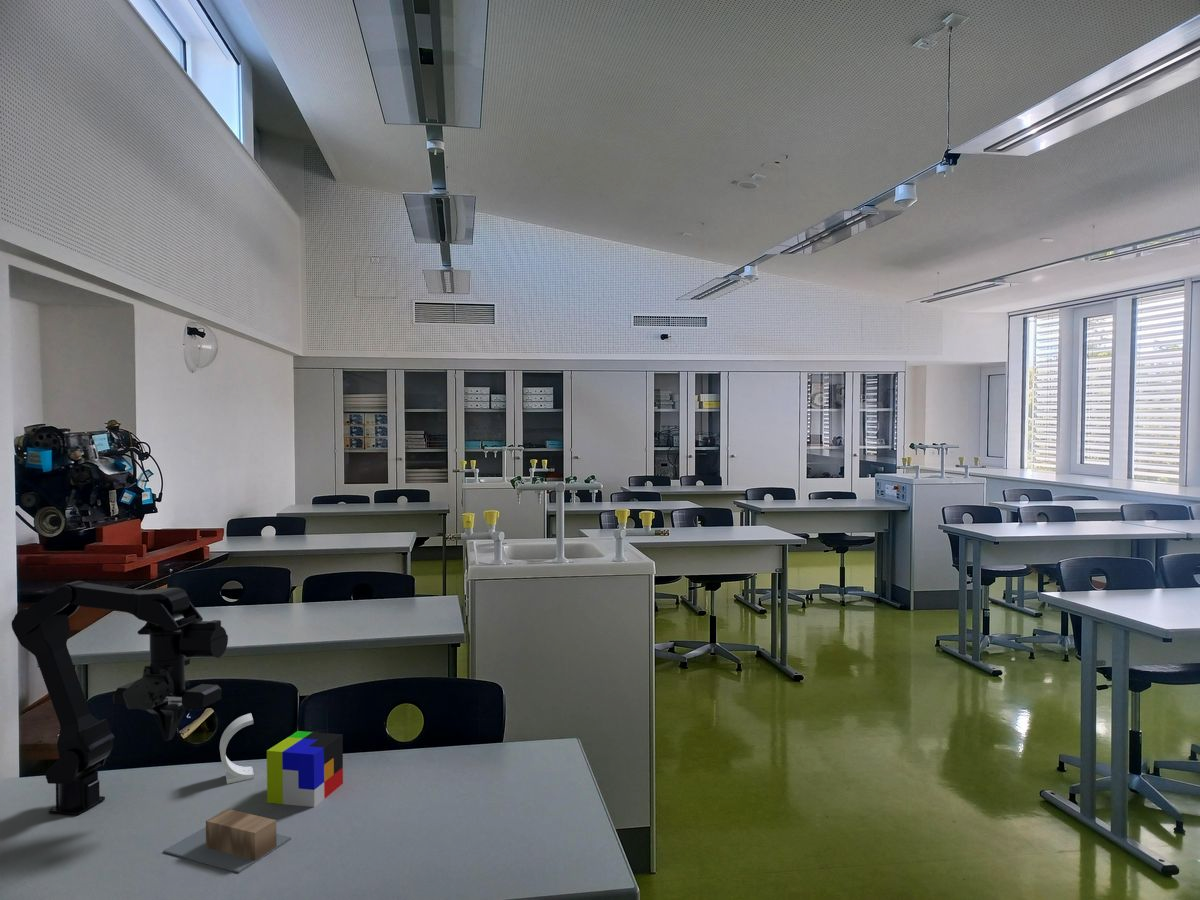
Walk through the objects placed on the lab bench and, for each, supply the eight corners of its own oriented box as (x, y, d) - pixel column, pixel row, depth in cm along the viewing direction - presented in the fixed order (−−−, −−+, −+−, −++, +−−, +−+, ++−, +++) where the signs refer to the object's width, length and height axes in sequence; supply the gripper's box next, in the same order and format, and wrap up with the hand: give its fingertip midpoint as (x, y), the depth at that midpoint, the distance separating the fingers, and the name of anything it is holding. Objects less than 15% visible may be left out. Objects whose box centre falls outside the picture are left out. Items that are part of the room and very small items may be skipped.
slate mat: (163, 852, 125) (163, 850, 125) (218, 821, 135) (218, 819, 135) (239, 872, 119) (238, 871, 119) (291, 838, 129) (291, 837, 129)
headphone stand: (254, 778, 153) (253, 720, 153) (221, 785, 150) (220, 725, 150) (251, 769, 157) (251, 713, 157) (219, 776, 154) (219, 718, 154)
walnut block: (205, 820, 126) (254, 833, 122) (228, 808, 130) (276, 820, 126) (206, 847, 126) (255, 860, 122) (228, 834, 130) (276, 846, 126)
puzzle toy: (314, 807, 140) (313, 754, 140) (267, 802, 142) (266, 750, 142) (343, 783, 150) (342, 734, 150) (298, 779, 152) (298, 730, 152)
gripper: (88, 667, 134) (89, 754, 134) (180, 672, 130) (181, 760, 131) (136, 650, 145) (137, 730, 145) (223, 654, 141) (223, 736, 142)
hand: (168, 739), depth 140 cm, fingers closed
